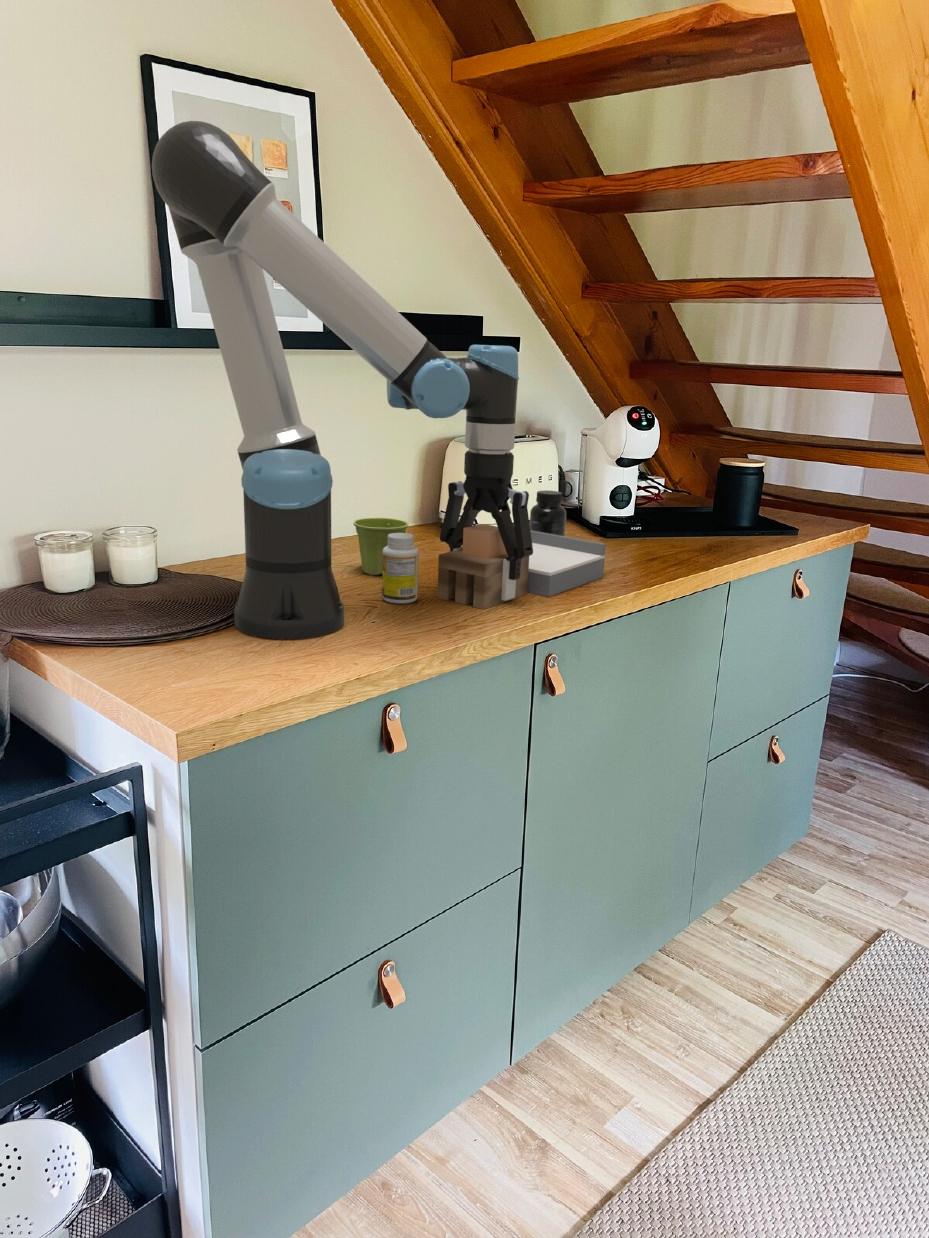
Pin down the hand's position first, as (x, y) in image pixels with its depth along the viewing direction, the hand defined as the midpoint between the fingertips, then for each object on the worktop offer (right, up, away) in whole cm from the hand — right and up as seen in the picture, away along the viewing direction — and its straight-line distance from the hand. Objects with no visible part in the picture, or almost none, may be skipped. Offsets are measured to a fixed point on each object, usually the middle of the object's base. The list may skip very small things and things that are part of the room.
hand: (483, 592), depth 146 cm
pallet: (0, 0, 0) cm, 1 cm away
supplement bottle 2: (+13, +8, +31) cm, 34 cm away
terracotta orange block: (0, +6, -2) cm, 6 cm away
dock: (+10, +3, +12) cm, 16 cm away
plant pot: (-18, +4, +13) cm, 22 cm away
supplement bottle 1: (-13, -1, -4) cm, 14 cm away
